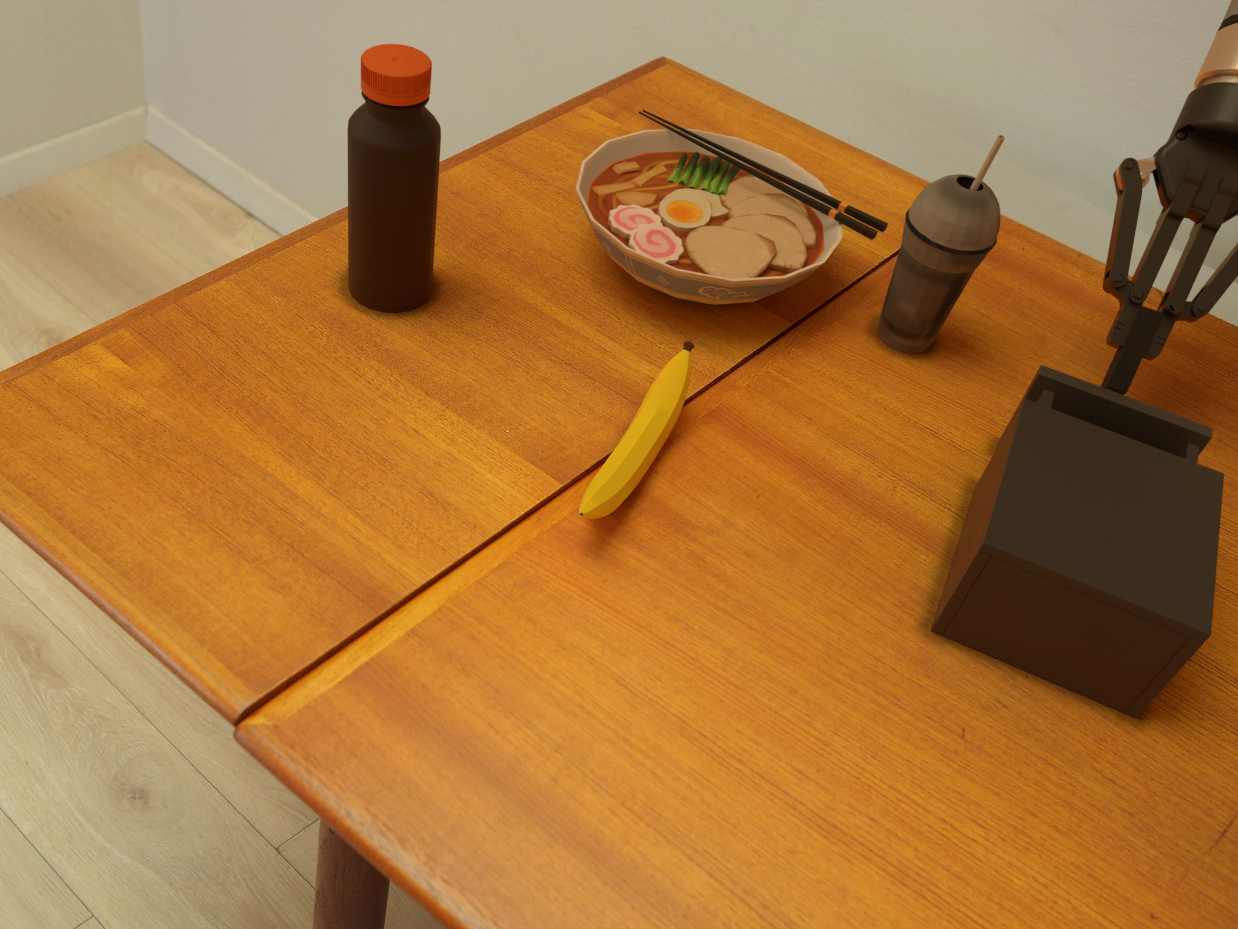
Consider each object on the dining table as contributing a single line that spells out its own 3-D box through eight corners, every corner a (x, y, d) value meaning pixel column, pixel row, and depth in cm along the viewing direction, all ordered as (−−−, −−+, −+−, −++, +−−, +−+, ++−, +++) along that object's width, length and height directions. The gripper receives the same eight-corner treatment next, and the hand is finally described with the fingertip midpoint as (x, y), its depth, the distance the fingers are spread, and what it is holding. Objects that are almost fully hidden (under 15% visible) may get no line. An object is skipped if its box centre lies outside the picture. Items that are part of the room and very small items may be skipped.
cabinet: (971, 493, 88) (1024, 398, 81) (1153, 565, 85) (1224, 473, 78) (926, 637, 78) (983, 542, 71) (1131, 725, 75) (1211, 635, 68)
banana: (551, 555, 78) (563, 490, 74) (656, 397, 91) (672, 333, 86) (590, 572, 78) (605, 507, 73) (690, 411, 90) (708, 347, 85)
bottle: (330, 290, 95) (326, 54, 80) (391, 259, 99) (397, 28, 84) (389, 331, 92) (395, 94, 78) (448, 297, 96) (465, 65, 81)
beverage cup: (921, 314, 103) (1014, 103, 88) (957, 368, 98) (1062, 154, 84) (846, 317, 101) (928, 102, 87) (879, 372, 96) (972, 154, 82)
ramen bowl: (500, 253, 101) (510, 169, 95) (659, 167, 114) (676, 89, 108) (732, 400, 92) (759, 317, 86) (876, 288, 105) (908, 209, 99)
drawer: (1007, 410, 94) (1049, 334, 88) (1162, 469, 91) (1216, 394, 85) (961, 562, 81) (1007, 485, 76) (1139, 635, 79) (1200, 561, 73)
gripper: (1311, 147, 90) (1183, 429, 91) (1142, 94, 93) (1019, 368, 94) (1355, 111, 83) (1215, 418, 84) (1170, 54, 85) (1037, 352, 87)
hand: (1112, 391), depth 89 cm, fingers closed
